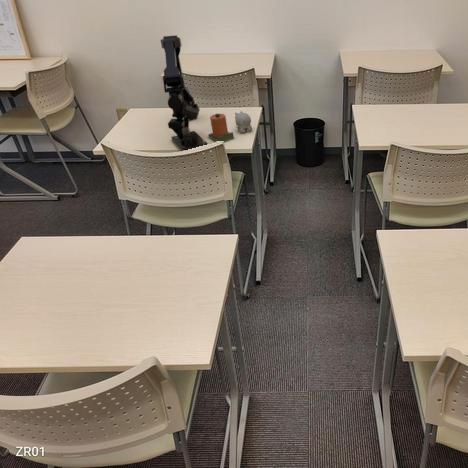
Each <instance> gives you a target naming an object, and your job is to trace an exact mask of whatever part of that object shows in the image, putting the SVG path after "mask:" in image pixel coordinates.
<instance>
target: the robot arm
mask: <svg viewBox="0 0 468 468" xmlns="http://www.w3.org/2000/svg"><path fill="white" fill-rule="evenodd" d="M160 44H161V49H163V50H164V53H165V55H164V56H165V64H166V66H165V68H164V69H163V76H162V82H163V89H164V93H168V99H167V105H168V108H169V109H171V110H172V114H171V116H172V118H170V120H169V122H168V123H167V127H168V129H170V130H172V131H173V132H174V134H176V136H178V137H179V138H180V139H183V128H184V127H189V128H190V121H192V120H197V119H198V118H199V114H200V111H201V110H200V107H199V105H198V103H195V99H194V97H193V95H192V94H191V93H190V89H189V88H188V87H187V86H186V85H185V80H184V79H185V78H184V75H183V69H182V63H181V59H180V53H181V50H182V39H181V37H179V36H178V35H177V34H176V35H165V36H164V35H163V37H162V39H160Z"/></svg>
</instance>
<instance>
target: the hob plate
mask: <svg viewBox="0 0 468 468" xmlns="http://www.w3.org/2000/svg"><path fill="white" fill-rule="evenodd" d="M201 138H202V137H201ZM201 138H189V139H186V140H184V141H182V142H181V143H180V146H181V147H182V148H186V149H192V148H196V147H199V146H202V145H203V144H204V143H205V141H206V140H205V139H203V138H202V139H201ZM204 140H205V141H204Z"/></svg>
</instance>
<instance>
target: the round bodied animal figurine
mask: <svg viewBox="0 0 468 468" xmlns="http://www.w3.org/2000/svg"><path fill="white" fill-rule="evenodd" d="M234 115H235V116H234V119H235V120H234V122H235V126H236V127H237V131H238V132H239V133H240V134H245V133H246V131H247V132H252V131H253V127H252V125H251V124H252V118H251V116H250V115H249V114H248V113H247V112H243V111H240V112H236V111H235V112H234Z"/></svg>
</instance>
